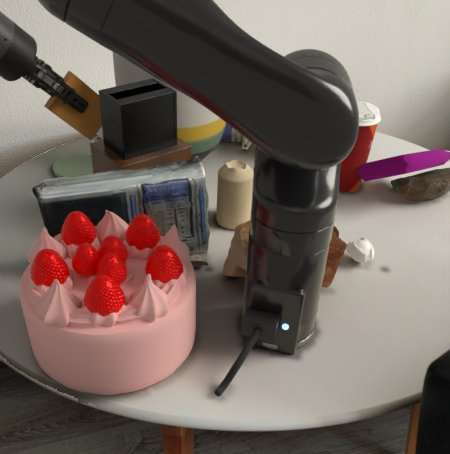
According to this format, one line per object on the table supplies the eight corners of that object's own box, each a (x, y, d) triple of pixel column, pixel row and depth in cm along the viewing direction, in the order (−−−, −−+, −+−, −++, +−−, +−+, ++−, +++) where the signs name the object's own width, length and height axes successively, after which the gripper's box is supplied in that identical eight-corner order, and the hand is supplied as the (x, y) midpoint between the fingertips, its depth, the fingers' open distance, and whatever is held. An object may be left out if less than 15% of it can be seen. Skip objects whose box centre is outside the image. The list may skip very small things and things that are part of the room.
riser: (126, 239, 88) (120, 167, 80) (97, 212, 93) (89, 143, 85) (191, 215, 94) (191, 145, 86) (160, 191, 99) (158, 124, 91)
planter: (206, 193, 99) (209, 65, 85) (102, 172, 103) (89, 47, 89) (239, 146, 113) (246, 29, 99) (147, 129, 117) (141, 15, 103)
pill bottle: (242, 116, 110) (195, 115, 110) (241, 144, 112) (195, 143, 112) (241, 112, 115) (196, 110, 115) (240, 139, 117) (196, 137, 117)
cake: (225, 321, 74) (230, 228, 65) (125, 428, 61) (114, 330, 52) (106, 267, 82) (96, 177, 72) (-6, 353, 68) (-36, 255, 59)
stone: (325, 302, 84) (226, 308, 79) (307, 252, 88) (213, 255, 84) (368, 241, 72) (256, 243, 67) (346, 187, 77) (239, 185, 72)
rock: (411, 169, 94) (381, 170, 104) (410, 202, 95) (381, 200, 105) (485, 165, 97) (449, 167, 106) (484, 197, 98) (448, 196, 108)
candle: (247, 232, 91) (251, 174, 84) (212, 227, 91) (214, 169, 85) (253, 213, 95) (257, 157, 88) (220, 209, 96) (222, 153, 89)
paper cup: (373, 191, 102) (392, 114, 93) (335, 198, 100) (350, 120, 91) (350, 171, 107) (365, 96, 98) (314, 177, 105) (326, 101, 96)
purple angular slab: (410, 152, 89) (479, 141, 105) (350, 166, 97) (423, 153, 113) (413, 172, 89) (481, 157, 105) (353, 183, 97) (425, 168, 113)
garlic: (341, 251, 87) (352, 272, 84) (344, 234, 85) (355, 254, 82) (372, 248, 88) (384, 267, 85) (377, 231, 86) (389, 250, 83)
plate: (91, 185, 100) (90, 181, 99) (43, 176, 101) (42, 172, 101) (113, 162, 106) (112, 158, 106) (68, 154, 108) (67, 150, 108)
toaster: (124, 160, 82) (120, 104, 77) (100, 141, 86) (94, 87, 81) (177, 144, 86) (176, 91, 81) (152, 127, 90) (149, 75, 85)
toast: (91, 141, 101) (48, 109, 93) (86, 137, 102) (43, 106, 94) (114, 108, 101) (73, 73, 93) (110, 105, 102) (68, 70, 94)
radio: (40, 279, 80) (20, 182, 70) (50, 243, 86) (33, 150, 76) (210, 277, 81) (213, 182, 72) (207, 242, 88) (209, 150, 78)
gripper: (29, 31, 79) (115, 101, 93) (-9, 7, 87) (75, 74, 101) (-1, 77, 80) (89, 139, 94) (-36, 49, 88) (51, 110, 102)
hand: (81, 105), depth 98 cm, fingers closed on toast
